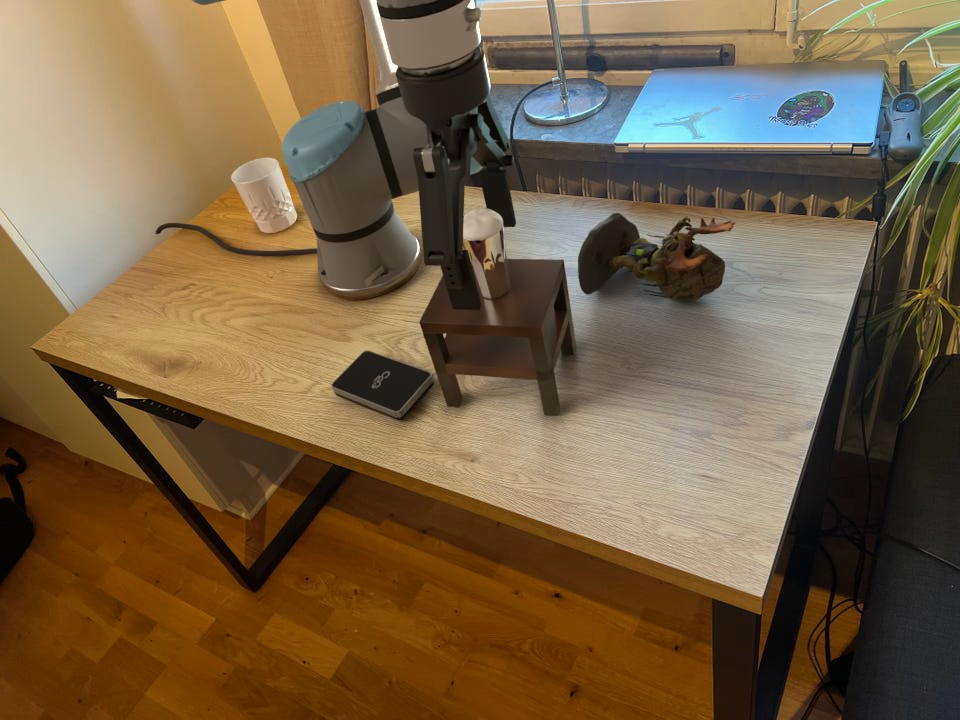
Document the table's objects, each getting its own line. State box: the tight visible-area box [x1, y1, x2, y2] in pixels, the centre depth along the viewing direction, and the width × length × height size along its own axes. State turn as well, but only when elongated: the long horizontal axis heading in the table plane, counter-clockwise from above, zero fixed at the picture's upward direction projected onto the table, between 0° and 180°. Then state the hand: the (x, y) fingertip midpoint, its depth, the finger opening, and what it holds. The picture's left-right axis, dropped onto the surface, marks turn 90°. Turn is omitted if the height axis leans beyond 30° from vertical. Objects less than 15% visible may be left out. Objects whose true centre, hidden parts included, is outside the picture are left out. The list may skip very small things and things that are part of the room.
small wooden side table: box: [418, 258, 577, 417], centre depth 79 cm, size 13×11×13 cm
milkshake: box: [463, 207, 510, 299], centre depth 71 cm, size 4×5×10 cm
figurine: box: [577, 212, 736, 302], centre depth 87 cm, size 14×10×18 cm
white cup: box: [230, 157, 298, 234], centre depth 118 cm, size 8×8×10 cm
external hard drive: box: [330, 349, 435, 422], centre depth 85 cm, size 7×11×2 cm, turn 56°
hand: (486, 264), depth 73 cm, fingers open, 13 cm apart
